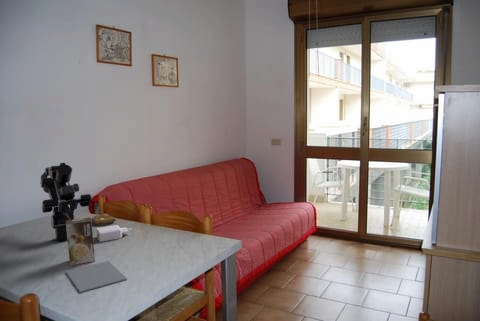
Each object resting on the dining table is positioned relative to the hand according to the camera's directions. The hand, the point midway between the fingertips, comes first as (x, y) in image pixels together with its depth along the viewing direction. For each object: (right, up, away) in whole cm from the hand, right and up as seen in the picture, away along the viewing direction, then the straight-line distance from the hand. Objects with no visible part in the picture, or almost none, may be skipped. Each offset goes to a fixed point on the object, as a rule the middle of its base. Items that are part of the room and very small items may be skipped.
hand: (71, 219), depth 153 cm
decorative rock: (-3, -9, +45) cm, 46 cm away
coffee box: (+8, -15, -8) cm, 19 cm away
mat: (+19, -16, -23) cm, 34 cm away
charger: (+11, -11, +20) cm, 26 cm away
